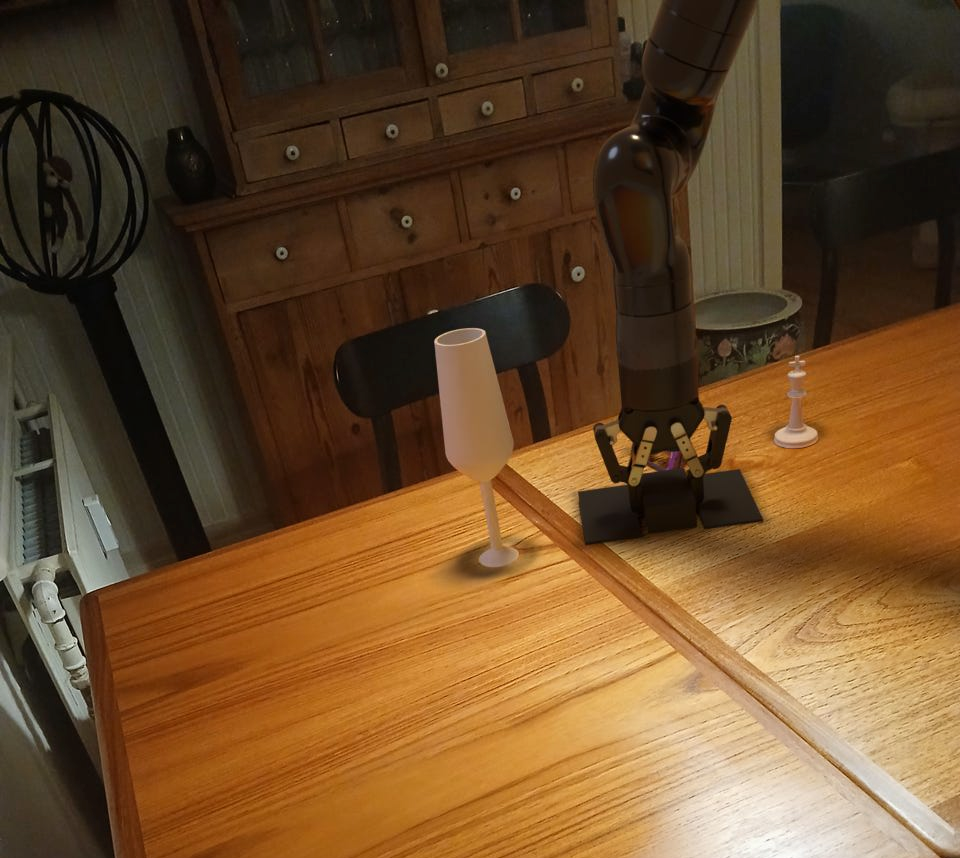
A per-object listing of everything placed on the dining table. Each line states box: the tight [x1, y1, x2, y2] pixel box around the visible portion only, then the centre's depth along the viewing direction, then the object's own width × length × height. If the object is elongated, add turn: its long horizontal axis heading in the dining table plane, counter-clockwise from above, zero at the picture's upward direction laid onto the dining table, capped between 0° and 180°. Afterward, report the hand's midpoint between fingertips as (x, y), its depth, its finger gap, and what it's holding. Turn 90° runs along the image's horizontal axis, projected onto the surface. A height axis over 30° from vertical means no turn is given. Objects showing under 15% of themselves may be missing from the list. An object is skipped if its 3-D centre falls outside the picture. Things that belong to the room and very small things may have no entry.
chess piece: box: [773, 355, 819, 449], centre depth 113 cm, size 5×5×10 cm
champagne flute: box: [433, 327, 520, 568], centre depth 96 cm, size 7×7×24 cm
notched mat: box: [577, 468, 764, 546], centre depth 105 cm, size 18×12×1 cm, turn 89°
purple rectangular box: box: [629, 442, 684, 471], centre depth 115 cm, size 7×5×9 cm
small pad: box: [641, 467, 698, 534], centre depth 103 cm, size 5×8×3 cm, turn 179°
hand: (666, 508), depth 104 cm, fingers closed on small pad, 5 cm apart
